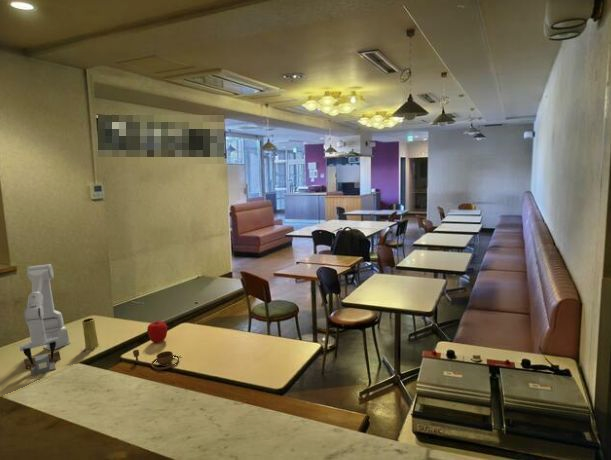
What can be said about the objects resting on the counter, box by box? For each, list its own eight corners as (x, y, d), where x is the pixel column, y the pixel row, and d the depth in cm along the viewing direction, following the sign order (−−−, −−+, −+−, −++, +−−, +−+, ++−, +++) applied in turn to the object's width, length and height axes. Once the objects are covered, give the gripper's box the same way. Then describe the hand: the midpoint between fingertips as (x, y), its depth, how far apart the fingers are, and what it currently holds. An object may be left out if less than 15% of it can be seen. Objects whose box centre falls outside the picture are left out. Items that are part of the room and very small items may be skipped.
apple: (164, 345, 207) (162, 325, 205) (145, 346, 207) (142, 325, 205) (171, 337, 217) (169, 317, 215) (153, 337, 217) (150, 318, 215)
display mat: (54, 361, 196) (54, 360, 196) (55, 369, 188) (55, 368, 188) (31, 367, 191) (31, 366, 191) (32, 375, 184) (31, 374, 183)
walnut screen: (60, 358, 199) (59, 350, 199) (60, 359, 198) (59, 351, 198) (25, 367, 192) (23, 359, 191) (25, 368, 191) (23, 360, 190)
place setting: (153, 377, 178) (152, 364, 177) (131, 363, 191) (130, 351, 190) (189, 360, 191) (188, 348, 190) (166, 349, 204) (165, 338, 203)
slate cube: (49, 363, 193) (47, 353, 192) (50, 367, 189) (48, 357, 188) (36, 367, 190) (35, 356, 190) (37, 371, 186) (35, 361, 185)
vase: (85, 350, 206) (81, 323, 204) (85, 346, 211) (81, 319, 209) (99, 347, 209) (95, 320, 206) (98, 343, 214) (94, 316, 212)
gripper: (17, 340, 180) (23, 369, 182) (56, 331, 187) (61, 359, 190) (18, 335, 185) (23, 363, 188) (55, 326, 193) (60, 353, 195)
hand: (42, 361), depth 189 cm, fingers open, 7 cm apart
